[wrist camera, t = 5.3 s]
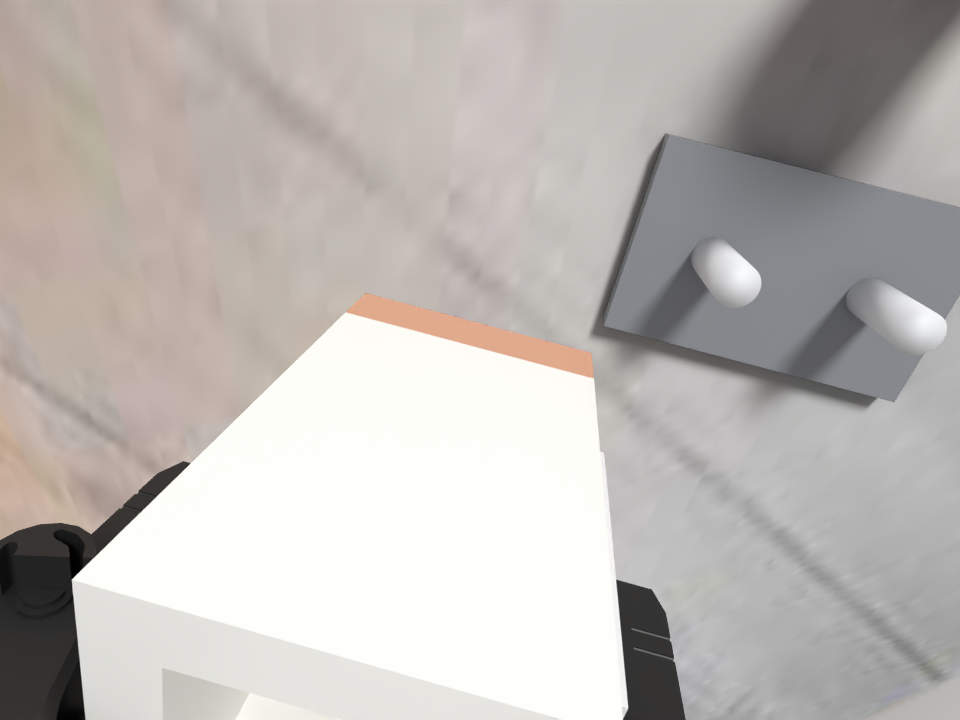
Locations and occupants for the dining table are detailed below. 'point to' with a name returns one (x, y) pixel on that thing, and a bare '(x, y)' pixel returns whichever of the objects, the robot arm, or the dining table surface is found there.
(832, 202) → the grey board with pegs
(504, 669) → the sleeve
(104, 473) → the dining table surface
